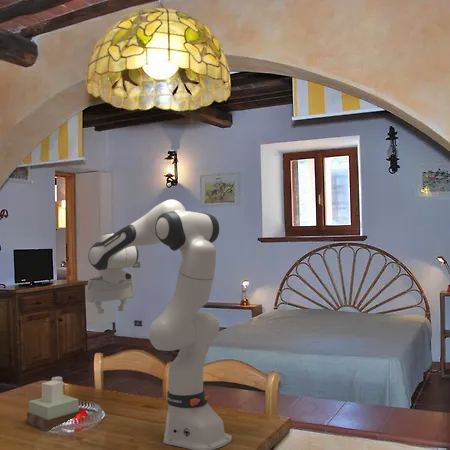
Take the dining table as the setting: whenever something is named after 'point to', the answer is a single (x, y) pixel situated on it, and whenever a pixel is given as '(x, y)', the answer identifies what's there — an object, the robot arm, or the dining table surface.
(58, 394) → the cream block
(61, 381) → the supplement bottle
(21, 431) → the dining table surface
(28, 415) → the tower base
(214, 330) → the robot arm
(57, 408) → the tower top
